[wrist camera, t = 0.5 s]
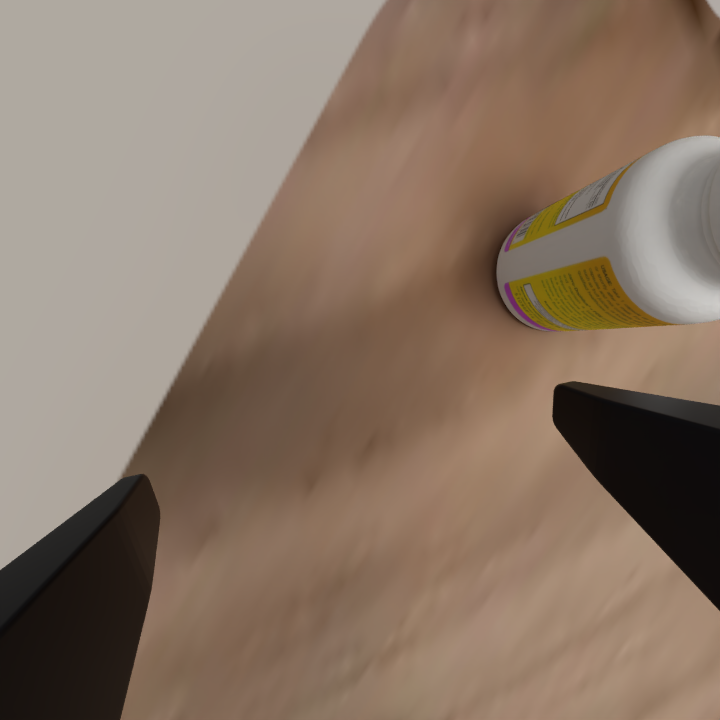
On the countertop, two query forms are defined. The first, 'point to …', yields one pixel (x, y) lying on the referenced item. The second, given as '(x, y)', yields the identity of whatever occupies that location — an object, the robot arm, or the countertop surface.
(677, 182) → the supplement bottle
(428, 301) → the countertop surface
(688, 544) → the robot arm
